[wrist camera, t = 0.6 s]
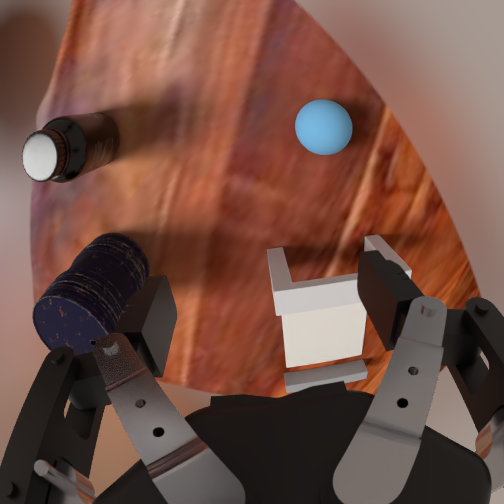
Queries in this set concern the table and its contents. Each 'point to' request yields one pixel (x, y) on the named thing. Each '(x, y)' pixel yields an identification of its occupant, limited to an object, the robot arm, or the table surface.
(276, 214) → the table surface
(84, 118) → the supplement bottle
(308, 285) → the bridge
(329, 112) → the ball
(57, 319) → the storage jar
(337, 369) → the wall
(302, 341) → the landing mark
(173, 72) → the table surface
